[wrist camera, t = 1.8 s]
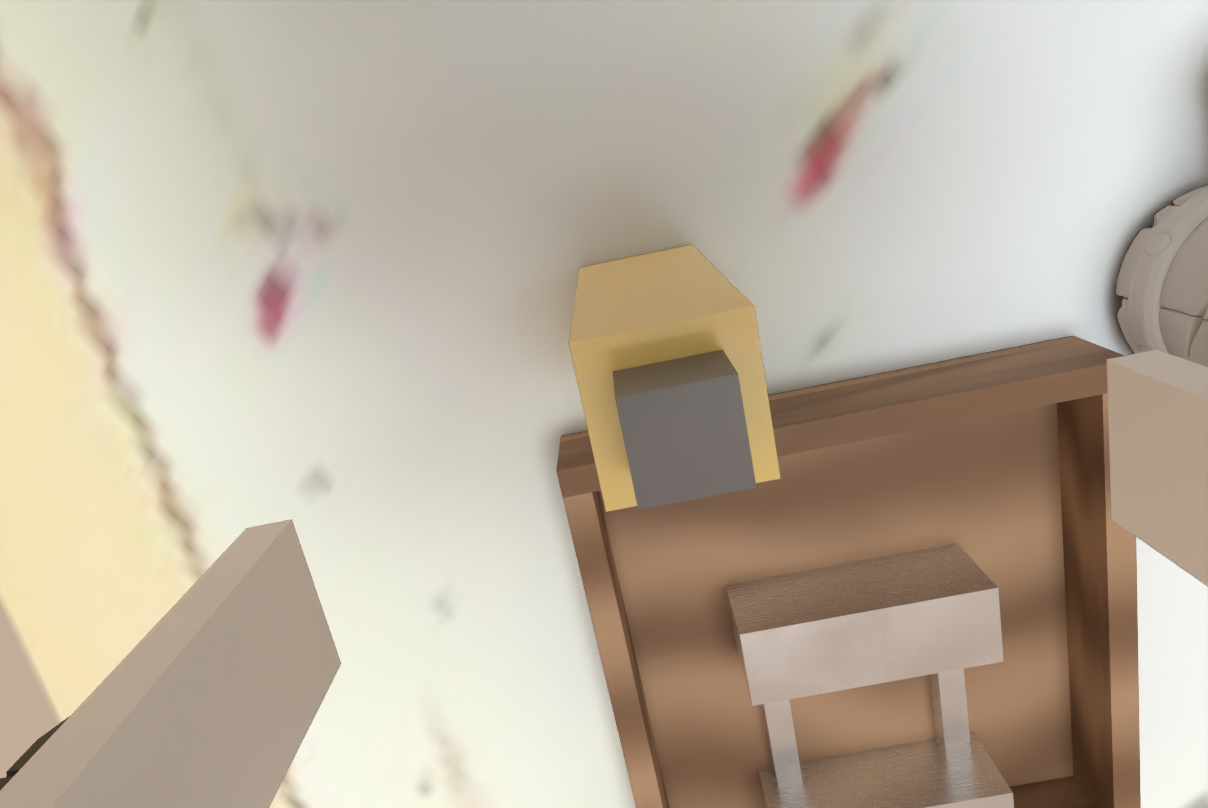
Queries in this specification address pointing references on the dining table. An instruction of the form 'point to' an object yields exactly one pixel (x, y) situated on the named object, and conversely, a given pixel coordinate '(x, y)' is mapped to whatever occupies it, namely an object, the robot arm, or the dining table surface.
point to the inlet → (873, 674)
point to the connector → (670, 380)
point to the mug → (1169, 282)
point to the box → (875, 529)
